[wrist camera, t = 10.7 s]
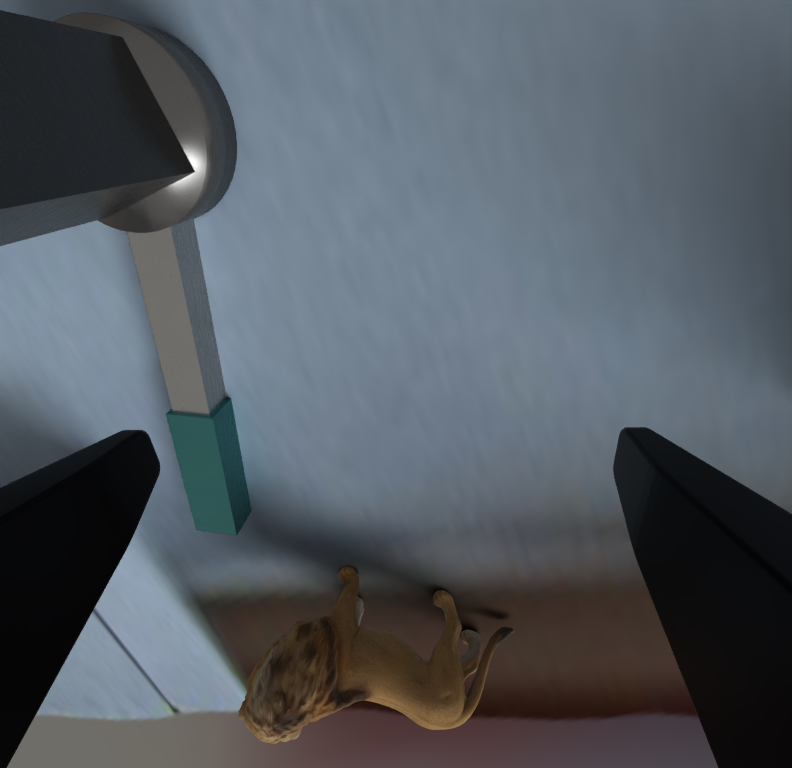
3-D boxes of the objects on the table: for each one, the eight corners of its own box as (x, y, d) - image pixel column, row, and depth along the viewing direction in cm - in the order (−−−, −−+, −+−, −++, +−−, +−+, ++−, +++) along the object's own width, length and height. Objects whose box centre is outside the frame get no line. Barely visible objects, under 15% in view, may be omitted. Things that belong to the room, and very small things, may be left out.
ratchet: (221, 24, 17) (134, -6, 13) (286, 515, 29) (251, 585, 25) (49, 26, 18) (-86, -2, 14) (179, 501, 30) (127, 566, 26)
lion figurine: (292, 606, 33) (234, 755, 26) (287, 553, 31) (220, 700, 23) (507, 645, 32) (514, 817, 24) (521, 592, 29) (534, 766, 21)
